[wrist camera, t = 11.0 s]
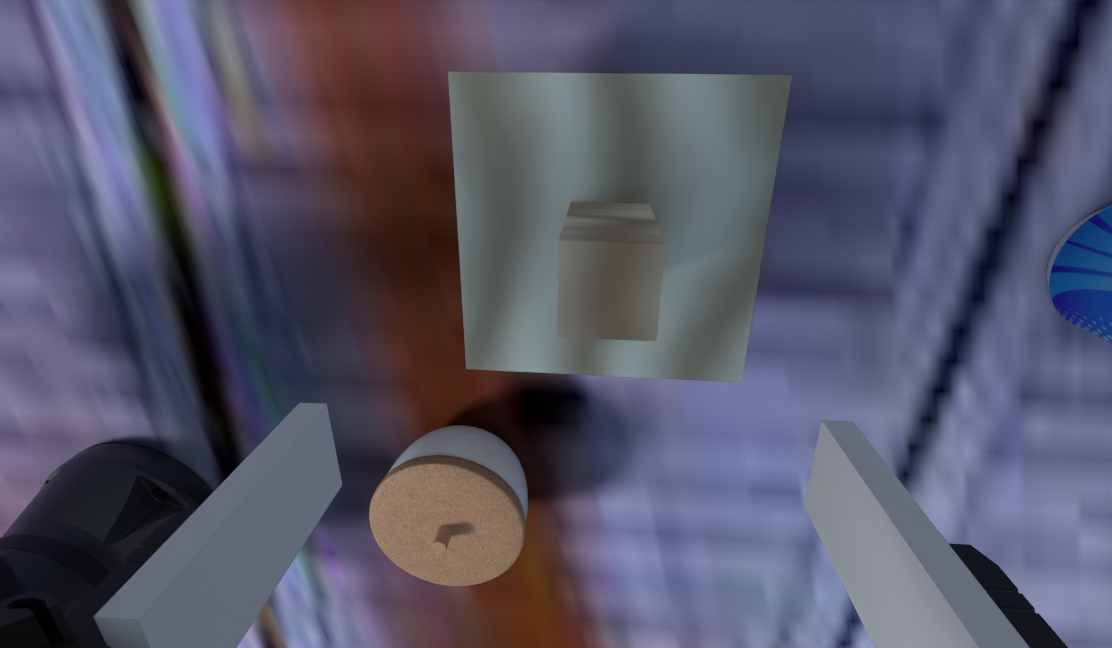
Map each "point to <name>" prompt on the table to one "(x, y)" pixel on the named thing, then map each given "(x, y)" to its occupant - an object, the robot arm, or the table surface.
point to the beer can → (1084, 274)
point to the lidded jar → (452, 507)
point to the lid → (613, 219)
